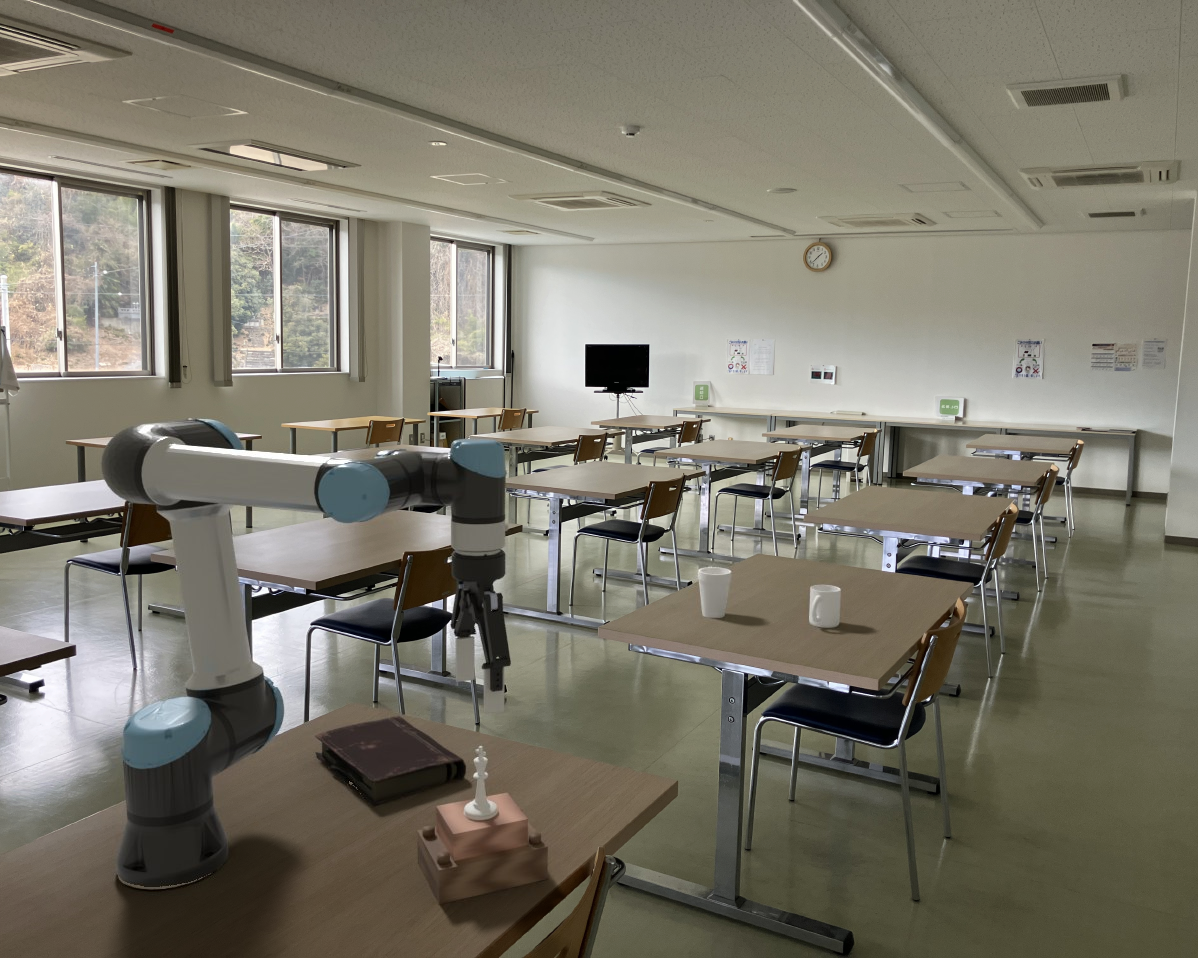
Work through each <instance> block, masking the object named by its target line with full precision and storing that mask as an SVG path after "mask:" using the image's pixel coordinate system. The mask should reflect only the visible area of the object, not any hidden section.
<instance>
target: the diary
mask: <svg viewBox="0 0 1198 958" xmlns="http://www.w3.org/2000/svg"><path fill="white" fill-rule="evenodd" d="M314 737H315V738H316V739H317V740H318V741H320V742H321V752H317V751H315V752H314V753H315V755H316V757H317V758H318V759H319V760H320V761H321V762H322V763H323V764H324V765H325V766H326V767H327V768H328V767H329V768H330V769H331V770H330V769H329V768H328V769H329V770H330V771H332V772H333V773H334V774H335V773H336V774H337V776H338V777H339V778H340V779H341V780H342V781H343V780H344V781H345V782H346V783H347V784H348V785H349V787H350V786H351V785H350V784H349V781H350V782H352V783H353V784H352V785H354V786H355V787H357V789H358V791H359V792H360V793H361V795H362V796H361V795H360V796H361V798H362V797H363V798H364V800H365V802H366V803H368V804H369V805H370V807H372V808H374V807H378V806H381V805H384V804H388V803H391V802H393V801H397V800H400V799H404V798H406V797H411V796H413V795H417V794H420V793H424V792H425V790H424V789H428V788H430V787H431V788H432V787H434V785H435V786H438V785H441V784H444V783H443V782H445V783H446V781H447V780H448V781H450V782H451V783H452V782H453V779H454V778H455V776H456V777H457V778H458V779H459V780H460V781H463V780H464V779H465V776H466V774H467V766H466V762H465V760H464V758H461V757H460V756H459V755H457V754H455V753H454V752H452V751H451V750H449V749H448V748H446V747H445V746H443V745H442V744H440V743H439V742H438V741H436V740H435V739H434V738H432V737H431V736H430V735H428V734H426V733H425V732H423V731H422V730H420V729H418V728H417V727H415V726H413V725H412V724H411V723H410V722H408V721H407V720H405V719H404V718H403V717H402V716H401V715H395V716H390V717H386V718H382V719H377V720H372V721H364V722H360V723H359V722H358V723H355V724H351V725H345V726H342V727H337V728H334V729H329V730H327V731H323V732H320V733H317V734H315V735H314ZM336 774H335V775H336ZM344 781H343V782H344ZM345 782H344V783H345ZM346 783H345V784H346ZM347 784H346V785H347ZM437 784H438V785H437ZM348 785H347V786H348ZM427 787H428V788H427ZM358 791H357V792H358ZM359 792H358V793H359ZM360 793H359V794H360ZM363 798H362V799H363Z"/></svg>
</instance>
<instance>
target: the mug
mask: <svg viewBox="0 0 1198 958" xmlns="http://www.w3.org/2000/svg"><path fill="white" fill-rule="evenodd" d="M809 589H810V593H809V611H808V612H809V614H808V615H809V618H808V620H809V621H808V622H809V624H810V625H811V626H813V627H816V628H817V627H818V628H821V629H830V628H831V629H833V628H836V627H838V626H839V624H840V619H841V618H840V617H841V616H840V615H841V597H842V595H841V594H842V589H841V588H840V587H838V586H835V585H831V584H830V585H829V584H816V585H812V586H810V587H809Z"/></svg>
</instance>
